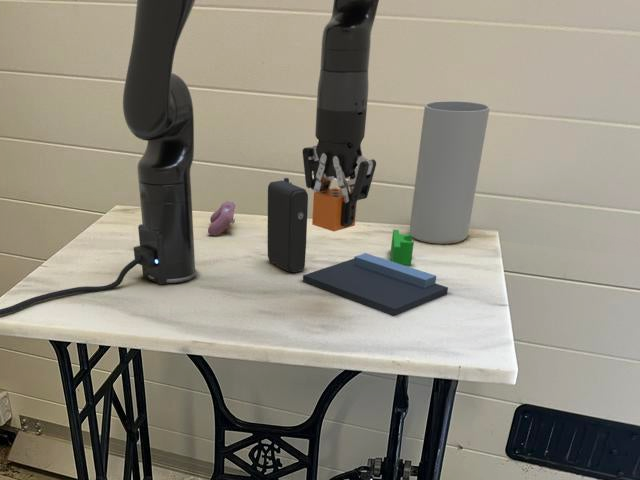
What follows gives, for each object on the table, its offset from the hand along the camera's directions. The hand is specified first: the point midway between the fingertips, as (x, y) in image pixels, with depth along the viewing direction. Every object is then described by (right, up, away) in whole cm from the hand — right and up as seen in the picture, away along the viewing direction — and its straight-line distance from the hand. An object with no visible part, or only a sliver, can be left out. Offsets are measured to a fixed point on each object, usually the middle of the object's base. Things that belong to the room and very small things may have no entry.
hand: (333, 221), depth 119 cm
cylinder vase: (+27, +12, +40) cm, 49 cm away
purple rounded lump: (-20, +15, +43) cm, 50 cm away
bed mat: (+9, -6, +15) cm, 18 cm away
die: (0, -1, 0) cm, 1 cm away
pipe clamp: (+16, +2, +27) cm, 31 cm away
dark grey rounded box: (-7, +1, +24) cm, 25 cm away
